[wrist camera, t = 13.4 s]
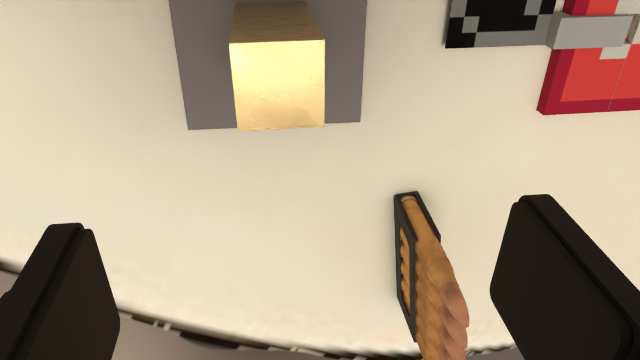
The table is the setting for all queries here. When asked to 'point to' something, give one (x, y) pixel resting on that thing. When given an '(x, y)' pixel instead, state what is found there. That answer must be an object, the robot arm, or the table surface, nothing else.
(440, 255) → the ammunition clip
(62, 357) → the robot arm
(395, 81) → the table surface
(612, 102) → the red board with handle
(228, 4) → the rubber mat
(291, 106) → the wooden block
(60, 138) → the table surface
